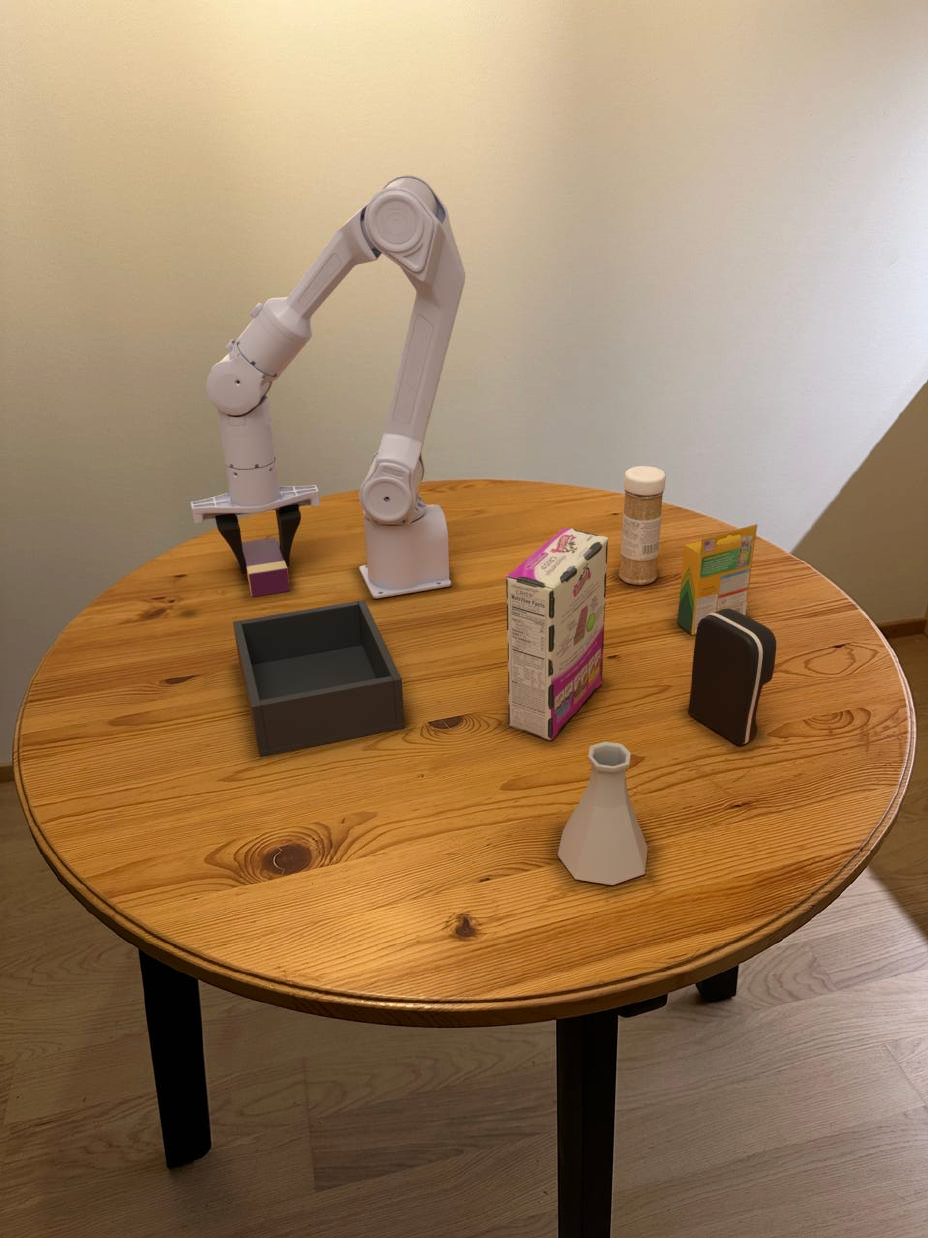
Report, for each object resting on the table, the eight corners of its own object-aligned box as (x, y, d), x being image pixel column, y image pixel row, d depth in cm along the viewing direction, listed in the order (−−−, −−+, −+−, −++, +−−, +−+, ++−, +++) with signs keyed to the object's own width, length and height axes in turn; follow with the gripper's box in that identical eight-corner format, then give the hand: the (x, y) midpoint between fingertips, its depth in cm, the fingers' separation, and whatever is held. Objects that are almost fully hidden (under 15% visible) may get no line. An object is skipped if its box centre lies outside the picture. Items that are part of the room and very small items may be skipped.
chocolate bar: (279, 558, 125) (276, 536, 123) (290, 591, 117) (287, 568, 116) (243, 564, 123) (239, 542, 122) (251, 597, 116) (248, 574, 114)
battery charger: (769, 734, 92) (787, 628, 86) (740, 750, 90) (757, 643, 84) (711, 699, 97) (725, 597, 91) (684, 713, 95) (696, 610, 89)
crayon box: (728, 608, 112) (741, 513, 106) (746, 620, 109) (759, 524, 104) (674, 623, 109) (684, 527, 103) (691, 636, 107) (702, 538, 101)
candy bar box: (558, 670, 102) (563, 524, 93) (603, 684, 99) (612, 536, 91) (503, 727, 93) (503, 573, 85) (550, 744, 91) (555, 587, 83)
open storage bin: (368, 644, 107) (364, 599, 104) (404, 728, 94) (401, 678, 91) (240, 667, 103) (232, 621, 100) (259, 757, 90) (251, 707, 87)
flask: (550, 826, 82) (553, 728, 77) (636, 819, 82) (645, 722, 77) (565, 891, 76) (569, 789, 70) (659, 884, 76) (670, 782, 71)
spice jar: (648, 566, 121) (656, 462, 114) (662, 584, 117) (672, 477, 110) (612, 571, 120) (619, 466, 113) (625, 589, 116) (633, 481, 109)
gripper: (307, 440, 118) (318, 543, 125) (182, 456, 114) (200, 561, 121) (318, 461, 112) (329, 568, 119) (186, 478, 108) (205, 588, 115)
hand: (264, 566), depth 120 cm, fingers closed on chocolate bar, 4 cm apart
